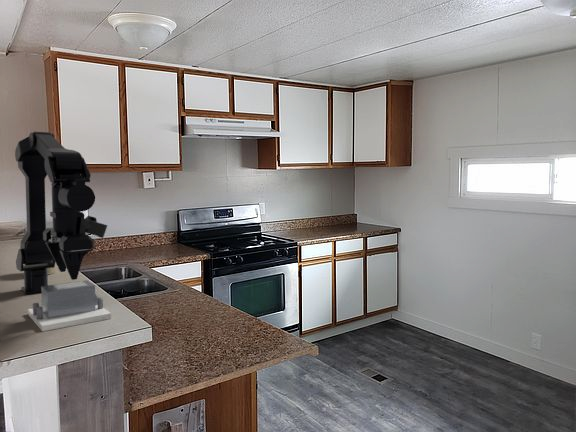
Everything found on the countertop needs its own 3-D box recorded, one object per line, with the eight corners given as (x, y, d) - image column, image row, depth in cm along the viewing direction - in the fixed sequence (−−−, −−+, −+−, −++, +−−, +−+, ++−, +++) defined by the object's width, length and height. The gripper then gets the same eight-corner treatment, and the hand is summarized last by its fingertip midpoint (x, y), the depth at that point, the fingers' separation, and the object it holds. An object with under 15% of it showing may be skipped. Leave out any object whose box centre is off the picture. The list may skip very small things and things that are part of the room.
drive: (42, 311, 109) (41, 285, 108) (87, 304, 115) (86, 279, 114) (48, 318, 104) (47, 291, 103) (95, 310, 110) (94, 285, 110)
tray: (27, 314, 110) (27, 298, 110) (91, 303, 119) (91, 289, 119) (42, 331, 100) (41, 314, 99) (111, 318, 109) (110, 302, 108)
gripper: (117, 209, 105) (118, 278, 106) (90, 203, 119) (91, 264, 121) (63, 212, 98) (65, 286, 99) (41, 204, 112) (43, 269, 114)
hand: (68, 275), depth 108 cm, fingers open, 9 cm apart
